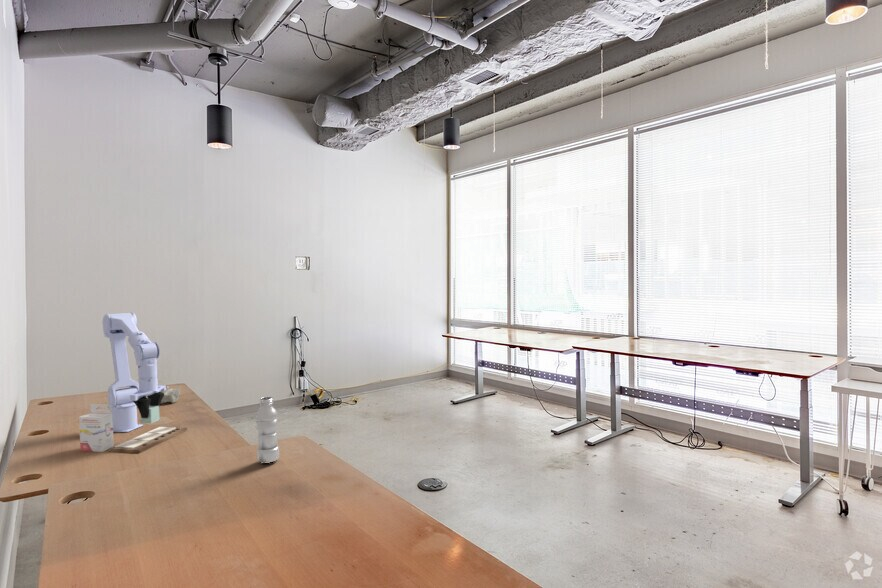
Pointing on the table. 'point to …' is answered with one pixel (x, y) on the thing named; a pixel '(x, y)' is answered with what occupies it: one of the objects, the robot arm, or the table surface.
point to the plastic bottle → (267, 431)
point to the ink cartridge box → (96, 429)
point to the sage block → (152, 415)
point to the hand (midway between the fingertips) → (149, 415)
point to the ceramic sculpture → (170, 395)
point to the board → (148, 439)
